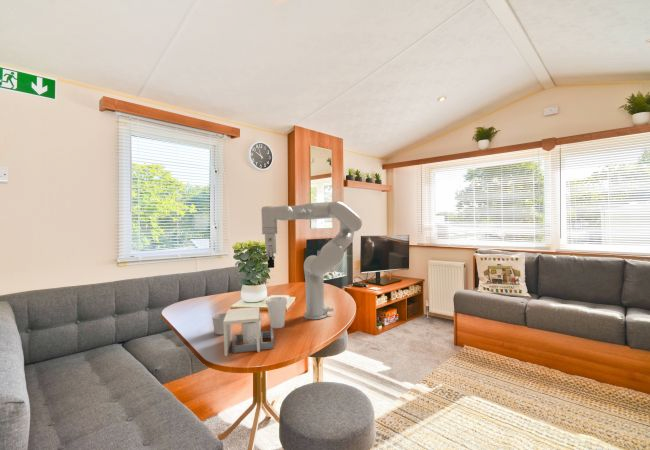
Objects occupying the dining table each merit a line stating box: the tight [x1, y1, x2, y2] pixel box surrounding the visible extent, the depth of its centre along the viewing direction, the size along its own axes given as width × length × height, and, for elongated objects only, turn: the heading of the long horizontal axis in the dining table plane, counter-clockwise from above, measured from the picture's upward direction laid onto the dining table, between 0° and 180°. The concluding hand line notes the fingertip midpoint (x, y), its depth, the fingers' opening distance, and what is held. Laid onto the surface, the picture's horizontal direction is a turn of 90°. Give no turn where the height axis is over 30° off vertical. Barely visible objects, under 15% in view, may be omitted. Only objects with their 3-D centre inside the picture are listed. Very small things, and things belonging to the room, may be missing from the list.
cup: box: [212, 312, 227, 336], centre depth 140 cm, size 11×8×8 cm
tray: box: [231, 326, 275, 354], centre depth 125 cm, size 16×13×4 cm
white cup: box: [240, 318, 262, 345], centre depth 125 cm, size 8×8×10 cm
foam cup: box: [266, 296, 288, 329], centre depth 145 cm, size 10×9×13 cm
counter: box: [223, 306, 261, 357], centre depth 124 cm, size 13×16×13 cm
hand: (271, 267), depth 152 cm, fingers closed
